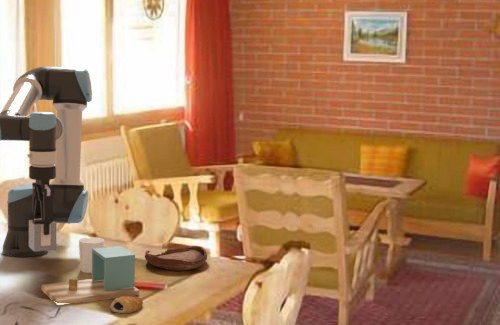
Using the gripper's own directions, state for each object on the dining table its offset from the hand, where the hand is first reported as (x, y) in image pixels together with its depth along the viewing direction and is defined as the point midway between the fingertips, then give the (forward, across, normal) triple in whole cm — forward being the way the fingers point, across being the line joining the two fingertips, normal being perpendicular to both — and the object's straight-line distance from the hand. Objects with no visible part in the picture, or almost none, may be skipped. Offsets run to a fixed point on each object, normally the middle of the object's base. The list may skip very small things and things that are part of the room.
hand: (42, 242), depth 226 cm
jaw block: (+2, 0, 0) cm, 2 cm away
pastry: (+14, +30, +15) cm, 36 cm away
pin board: (+13, +12, +11) cm, 21 cm away
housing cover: (+11, +12, +18) cm, 24 cm away
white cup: (+13, -10, +19) cm, 25 cm away
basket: (+13, -8, +48) cm, 50 cm away
